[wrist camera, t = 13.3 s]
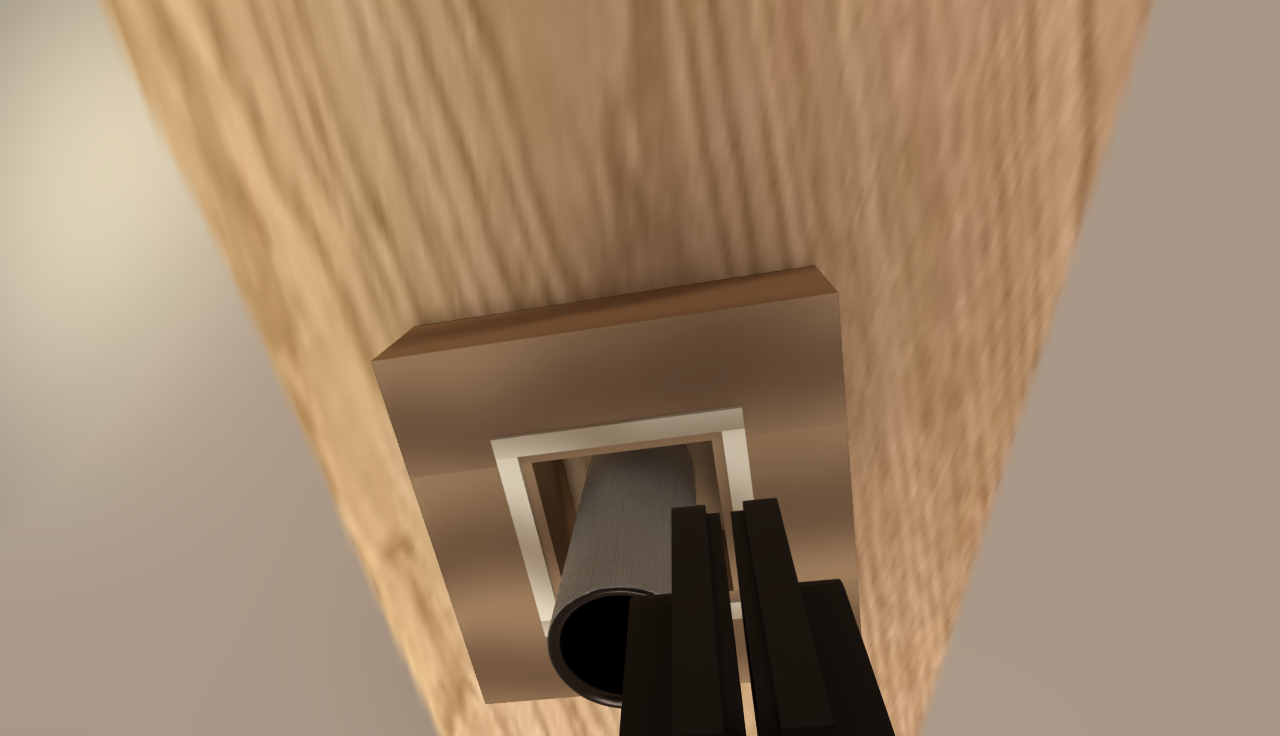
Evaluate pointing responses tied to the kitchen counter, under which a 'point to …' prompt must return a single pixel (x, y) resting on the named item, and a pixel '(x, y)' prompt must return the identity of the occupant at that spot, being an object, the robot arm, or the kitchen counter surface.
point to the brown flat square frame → (616, 439)
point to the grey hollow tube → (615, 563)
